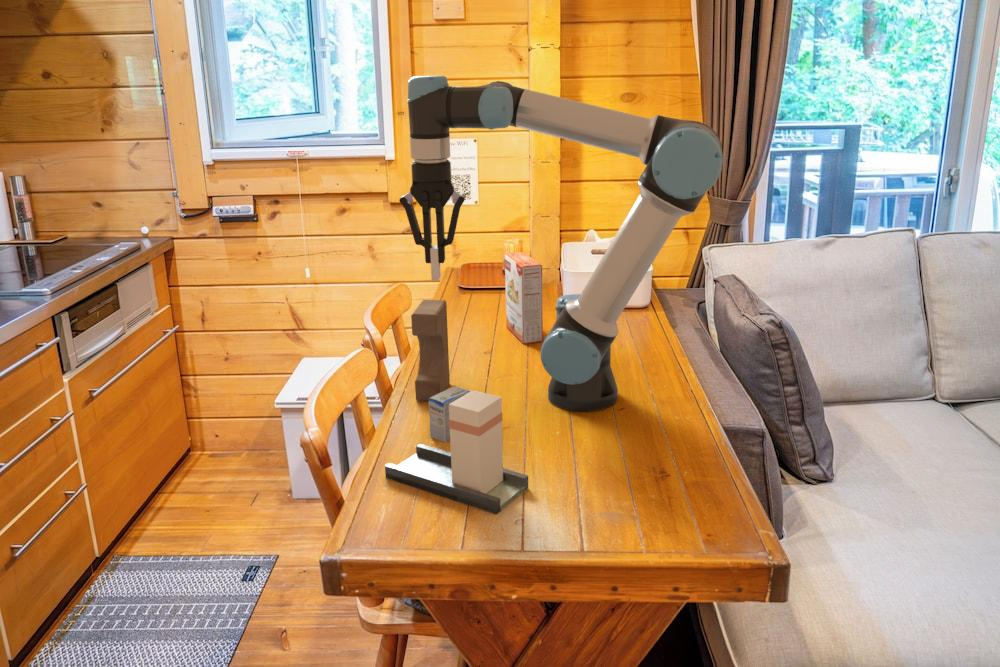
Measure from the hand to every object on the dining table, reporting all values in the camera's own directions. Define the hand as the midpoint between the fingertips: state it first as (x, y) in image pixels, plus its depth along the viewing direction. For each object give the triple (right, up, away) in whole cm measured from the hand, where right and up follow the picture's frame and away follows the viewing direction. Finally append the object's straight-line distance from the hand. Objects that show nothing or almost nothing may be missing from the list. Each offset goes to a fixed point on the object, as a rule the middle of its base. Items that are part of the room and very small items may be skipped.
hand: (436, 278), depth 171 cm
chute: (+5, -38, -19) cm, 42 cm away
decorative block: (-2, -24, +20) cm, 32 cm away
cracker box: (+19, -12, +55) cm, 59 cm away
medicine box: (+3, -31, 0) cm, 31 cm away
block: (+9, -38, -22) cm, 44 cm away
